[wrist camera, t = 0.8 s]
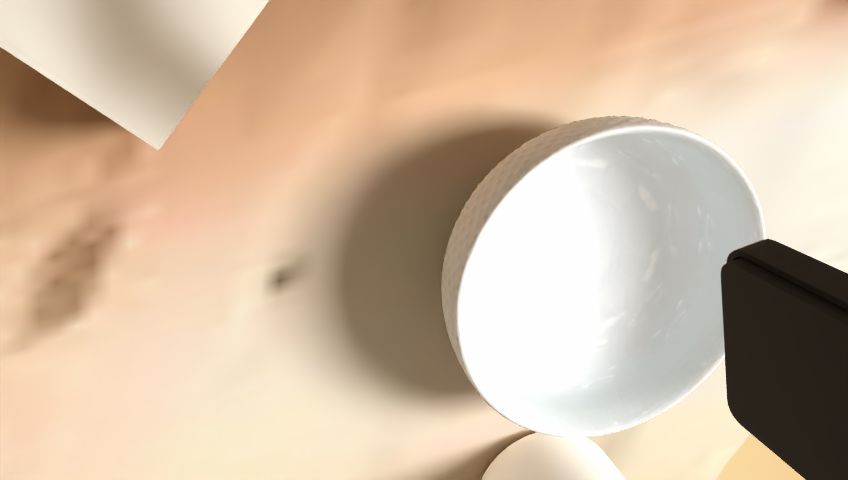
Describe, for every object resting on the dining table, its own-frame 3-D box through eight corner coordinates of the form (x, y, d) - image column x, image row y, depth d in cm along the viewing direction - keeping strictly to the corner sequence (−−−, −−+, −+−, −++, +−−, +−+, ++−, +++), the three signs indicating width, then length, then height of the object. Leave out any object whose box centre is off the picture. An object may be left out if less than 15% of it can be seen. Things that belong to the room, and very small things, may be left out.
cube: (119, -128, 26) (83, -169, 20) (265, -7, 29) (274, -8, 23) (21, 13, 27) (-43, 18, 20) (173, 117, 30) (158, 150, 23)
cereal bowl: (362, 317, 36) (390, 387, 29) (512, 41, 33) (580, 52, 26) (589, 403, 42) (652, 475, 36) (731, 180, 39) (828, 216, 33)
